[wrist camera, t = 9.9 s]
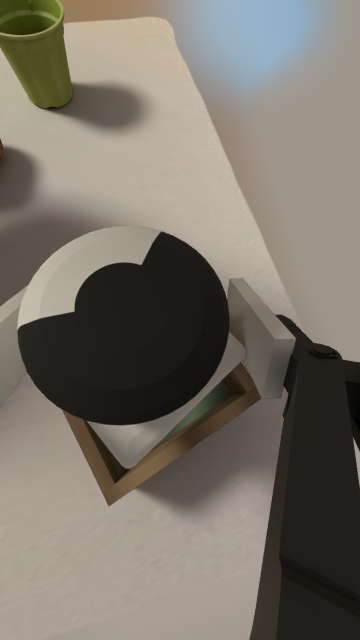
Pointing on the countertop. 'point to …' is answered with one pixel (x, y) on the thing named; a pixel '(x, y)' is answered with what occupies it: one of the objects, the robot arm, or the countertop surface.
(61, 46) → the plant pot
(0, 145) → the bread roll
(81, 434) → the walnut drop box
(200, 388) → the medicine bottle
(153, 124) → the countertop surface
